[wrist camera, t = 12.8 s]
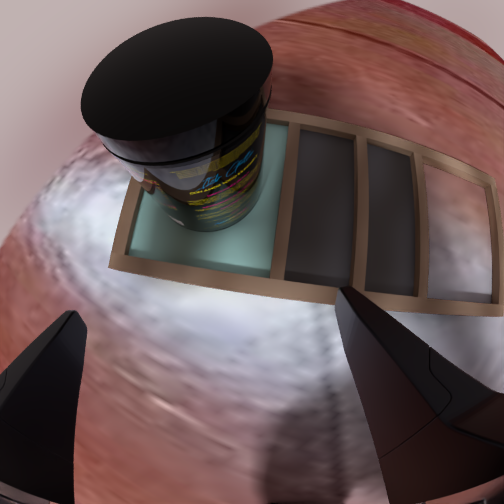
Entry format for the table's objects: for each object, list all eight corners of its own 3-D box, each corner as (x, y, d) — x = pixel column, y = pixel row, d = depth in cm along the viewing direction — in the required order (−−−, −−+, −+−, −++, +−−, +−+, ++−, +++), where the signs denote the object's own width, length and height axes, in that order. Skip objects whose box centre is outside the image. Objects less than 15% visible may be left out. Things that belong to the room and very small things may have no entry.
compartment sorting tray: (488, 182, 18) (494, 178, 17) (496, 316, 16) (503, 316, 15) (162, 110, 19) (159, 102, 18) (115, 269, 17) (108, 267, 16)
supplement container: (283, 174, 17) (311, 46, 7) (220, 258, 16) (171, 183, 6) (204, 129, 18) (173, 8, 8) (142, 200, 17) (53, 105, 7)
